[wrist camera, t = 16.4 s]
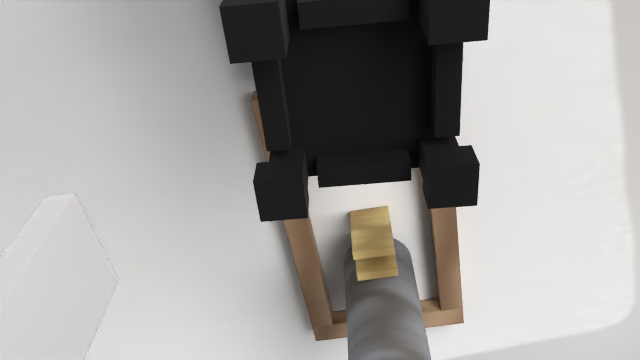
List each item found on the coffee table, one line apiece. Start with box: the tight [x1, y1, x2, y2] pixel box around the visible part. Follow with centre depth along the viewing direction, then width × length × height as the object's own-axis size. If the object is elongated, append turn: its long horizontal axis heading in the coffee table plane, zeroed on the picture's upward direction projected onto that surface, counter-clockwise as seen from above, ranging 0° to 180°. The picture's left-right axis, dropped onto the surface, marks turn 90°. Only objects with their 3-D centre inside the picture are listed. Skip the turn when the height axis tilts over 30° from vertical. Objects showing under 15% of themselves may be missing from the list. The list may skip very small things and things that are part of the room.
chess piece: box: [219, 0, 490, 222], centre depth 25 cm, size 8×8×20 cm
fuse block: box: [251, 92, 464, 360], centre depth 38 cm, size 13×24×15 cm, turn 10°
